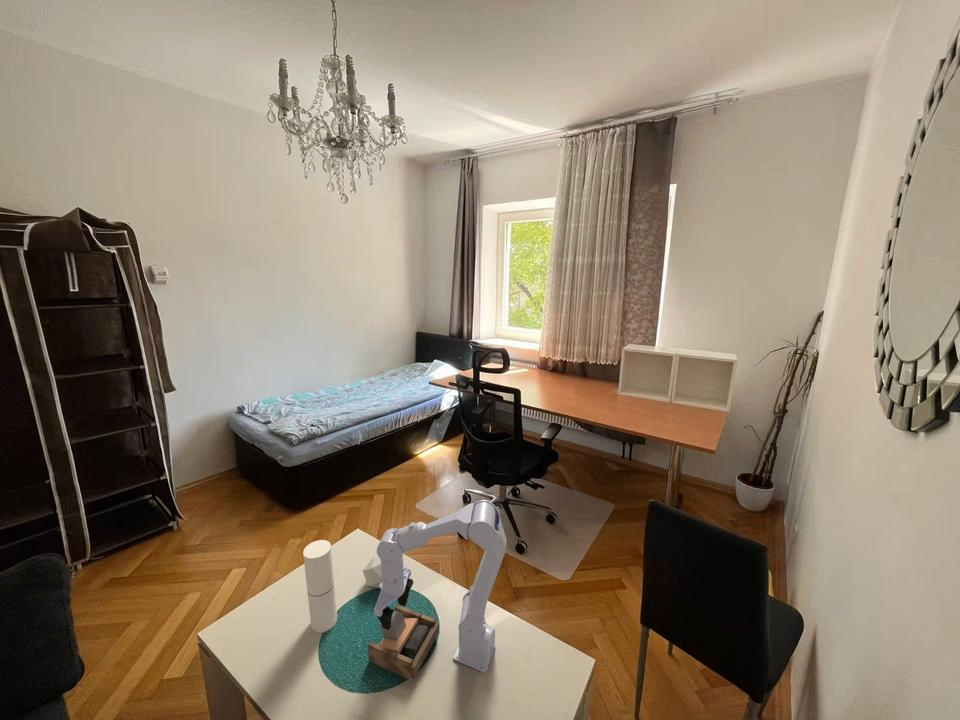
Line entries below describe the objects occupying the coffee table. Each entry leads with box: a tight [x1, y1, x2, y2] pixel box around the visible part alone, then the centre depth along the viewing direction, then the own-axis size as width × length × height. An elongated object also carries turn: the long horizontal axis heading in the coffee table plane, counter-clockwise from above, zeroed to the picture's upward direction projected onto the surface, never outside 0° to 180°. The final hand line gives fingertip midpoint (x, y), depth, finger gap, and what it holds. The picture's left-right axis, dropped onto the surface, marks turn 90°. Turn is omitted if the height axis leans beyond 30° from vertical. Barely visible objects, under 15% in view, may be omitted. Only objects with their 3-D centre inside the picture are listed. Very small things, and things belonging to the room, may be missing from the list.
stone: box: [378, 610, 406, 640], centre depth 103 cm, size 4×4×4 cm
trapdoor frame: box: [367, 604, 440, 681], centre depth 102 cm, size 14×13×6 cm
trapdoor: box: [378, 617, 429, 656], centre depth 102 cm, size 11×10×2 cm
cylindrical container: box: [302, 539, 338, 634], centre depth 107 cm, size 7×7×25 cm
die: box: [362, 556, 382, 589], centre depth 124 cm, size 8×9×10 cm
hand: (394, 615), depth 102 cm, fingers open, 7 cm apart
